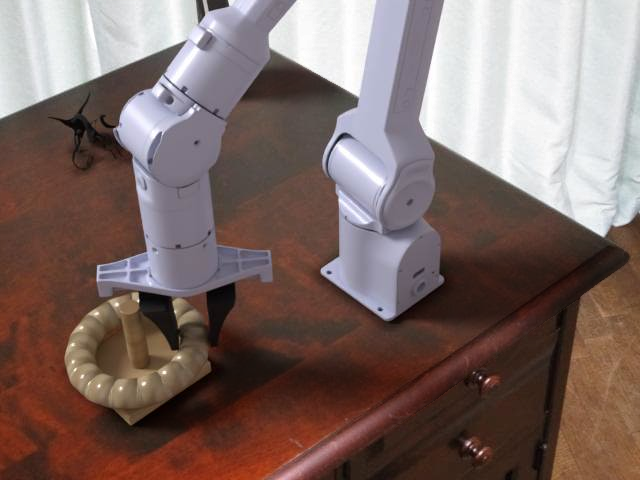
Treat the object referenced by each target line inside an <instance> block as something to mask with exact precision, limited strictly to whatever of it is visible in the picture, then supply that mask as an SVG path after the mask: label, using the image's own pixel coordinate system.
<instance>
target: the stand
mask: <svg viewBox="0 0 640 480" xmlns="http://www.w3.org/2000/svg"><path fill="white" fill-rule="evenodd" d="M119 310H120V315H121V320H122V328H121V329H119V330H117V331H116V332H114V333H113V334H111V335H110V336H108V337H105V338H104V339H103V341H102V342H101V343H100V345H99V346H98V347H97V351H96V356H95V360H96V363H97V367H98V368H99V369H100V370H102V371H103V372H104V373H105V374H107V375H110V376H113V377H116V378H119V379H125V378H140V377H143V376H146V375H148V374H151V373H154V372H157V371H158V370H159V369H161V368H162V367H164V366H165V365H166V364H168V363H169V362H171V360H172V359H173V357H174V356H175V354H176V353H177V351H178V350H176V351H172V350H171V348H170V345H169V343H168V341H167V340H166V338H165V336H164V335H163V333H162V332H161V331H160V329H159V328H158V327H157V326H156V325H155V324H154V323H153V322H152V321H151V320H143V317H142V312H141V310H140V308H139V302H137V301H135V300H127V301H124V302H123V303H122V304H121V305H120V307H119ZM179 345H180V337H179ZM211 372H212V364H211V362H210V361H209V360H208V359H207V361H206V363H205V365H204V366H203V368H202V369H201V371H200V372H199V374H198V375H197V377H196V378H195V380H194V381H193V382H192V383H191V384H190V385H189V386H187V387H186V388H185V389H183V390H182V391H181V392H183V391H184V390H186V389H188V388H189V387H191V385H193V384H195V383H196V382H198V381H199V380H201V379H202V378H204V377H205V376H207V375H208V374H209V373H211ZM181 392H179V393H178V394H180V393H181ZM173 398H174V397H172V398H171V399H173ZM171 399H169V400H166V401H163V402H161V403H158V404H155V405H152V406H149V407H146V408H142V409H113V410H114V411H115V412H116V413H117V414H118V415H119V416H120V417H121V418H122V419H123V420H124V421H125V422H126V423H127V424H128V425H129V426H133V425H134V424H136V423H137V422H139V421H140V420H142V419H143V418H145V417H146V416H147V415H149V414H150V413H152V412H154V411H155V410H156V409H158V408H159V407H161V406H163V405H165V403H166V402H168V401H170V400H171Z"/></svg>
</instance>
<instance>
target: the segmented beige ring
mask: <svg viewBox="0 0 640 480" xmlns="http://www.w3.org/2000/svg"><path fill="white" fill-rule="evenodd" d="M127 300H135V301H137V302H139V293H138V291H133V292H130V293H126V294H124V295H123V294H122V295H120V296H117V297H113V298H111V299H108V300H106V301H105V302H103V303H102V304H100V305H99V306H97V307H96V308H94V309H93V310H91V311H90V312H88V313H87V314H85V316H84V317H83V318H81V320H80V322H79V323H78V324H77V325H76V327H75V328H74V329H73V330H72V332H71V334H70V335H69V338H68V342H67V345H66V350H65V353H64V364H65V369H66V373H67V376H68V379H69V382H70V384H71V385H72V387H73V388H74V389H75V390H77V391H78V392H79V394H81V395H82V396H83V397H84V398H85V399H86V400H88V402H91V403H93V404H97V405H100V406H103V407H106V408H109V409H112V410H114V409H142V408H146V407H149V406H152V405H155V404H158V403H161V402H163V401H166V400H168V401H170V400H171V399H173V398H174V397H175V396H177V395H178V394H180V393H182V392H183V391H184V390H186V389H187V388H188V387H187V386H189V385H190V384H191V383H192V382H193V381H194V380H195V378H196V377H197V375H198V374H199V372H200V371H201V369H202V368H203V366H204V365H205V363H206V361H207V360H208V358H209V352H210V351H209V350H210V334H209V327H208V325H207V323H206V321H205V318H204V315H203V313H201V312H200V311H199V310H198V309H197V308H196V307H195V306H194V305H192V304H191V303H190V302H189V301H187V300H186V299H184V297H173V296H172V303H173V307H174V311H175V315H176V319H177V323H178V332H179V337H180V345H179V350H178V351H177V353H176V354H175V356H174V357H173V359H172V360H171V362H169V363H168V364H166V365H165V366H164V367H162V368H161V369H159V370H158V371H157V372H154V373H151V374H148V375H146V376H143V377H140V378H125V379H119V378H116V377H113V376H110V375H107V374H105V373H104V372H103V371H102V370H100V369H99V368H98V367H97V363H96V360H95V356H96V351H97V347H98V346H99V345H100V343H101V342H102V341H103V340H105V339H106V338H107V336H108V335H110V334H111V333H113V332H114V331H116V330H117V329H118V328H120V327H123V325H122V320H121V315H120V310H119V307H120V305H121V304H122V303H123V302H124V301H127ZM142 317H143V320H149V319H148V318H147V317H145V316H143V314H142ZM190 386H191V385H190ZM190 386H189V387H190ZM186 387H187V388H186ZM185 388H186V389H185ZM183 389H184V390H183ZM182 390H183V391H182ZM179 392H180V393H179ZM172 397H173V398H172ZM169 399H170V400H169Z"/></svg>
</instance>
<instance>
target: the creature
mask: <svg viewBox="0 0 640 480" xmlns="http://www.w3.org/2000/svg"><path fill="white" fill-rule="evenodd" d="M90 97H91V91H88V95H87V97H86V99H85V100H84V103H82V105H81V106H80V108H79V109H78V110H77V112H76V113H75V114H74V115H73V117H72V118H69V119H63V118H60V117H53V116H47V118H48V119H52V120H55V121H58V122H60V123H62V124H63V125H64V126H66V127H68V128H70V129H72V130H73V140H74V141H73V142H74V149H73V150H72V156H71V161H72V164H73V165H74V166H75V167H76V168H77V169H79V170H87V169H88V168H89V161H90V158H91V157H92V154H89V155H88V154H87V155H86V154H85V157H88V158H87V161H86V167H85V168H84V167H79V166H78V165H77V163H76V162H75V157H76V153H78V154H79V155H81V156H83V154H81V153H80V149H79V148H80V147H81V146H80V145H81V143H82V140H83V139H84V135H85V132H86V136H87V139H88V141H89V142H90V143H91V144H94V143H96V142H97V140H99V141H100V144H101V146H102V147H101V148H102V149H103V150H104V151H108V152H110V153H111V155H112V156H113V158H114V159H115V160H118V158H117V157H116V155H115V153H114V152H113V150H112V149H111V148H109V147H107V146H108V145H110V146H111V147H115V148H116V151H117V152H118V154H119V156H120V157H122V156H123V155H122V153H121V151H120V149H119V147H118V145H117V144H116V141H112V139H111V137H110V135H108V133H107V132H103V131H102V132H101V133H99V132H98V131H97V130H96V126H97V121H98V118H96V119H95V120H93V121H92V122H90V121H89V119H88V118H87V117H86V116H85V115H83V110H84V109H85V107H86V106H87V104H88V102H89V100H90ZM105 117H107V115H106V114H105V113H104V114H100V115H99V121H100V123H101V124H102V126H103V127H104V128H106V129H114V128H116V127H118V126H119V125H112V124H108V122H106V121H105V119H104V118H105ZM93 123H95V125H94V126H93V125H92V124H93ZM103 134H104V135H103ZM103 138H106V141H107V143H105V141H104V139H103ZM81 139H82V140H81Z"/></svg>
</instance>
